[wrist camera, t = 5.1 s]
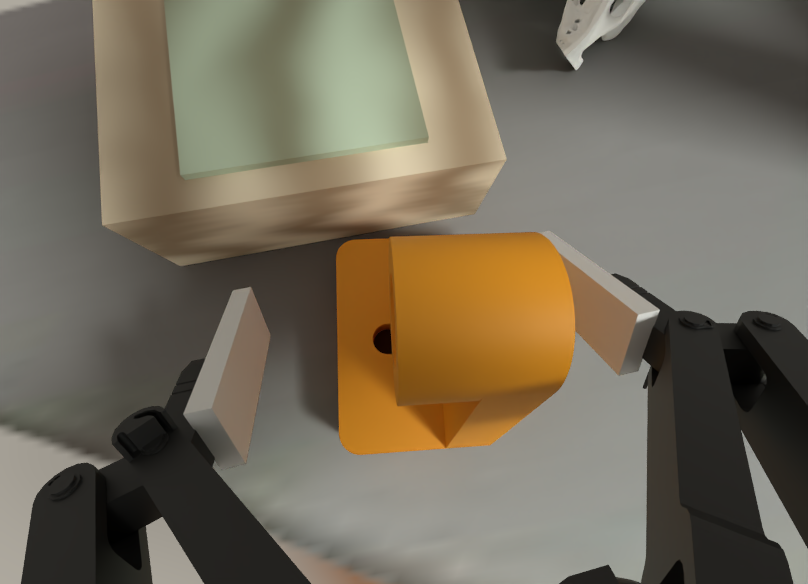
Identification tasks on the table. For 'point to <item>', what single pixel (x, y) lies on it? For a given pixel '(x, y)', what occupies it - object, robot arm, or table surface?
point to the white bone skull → (592, 24)
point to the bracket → (448, 338)
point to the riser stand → (286, 121)
